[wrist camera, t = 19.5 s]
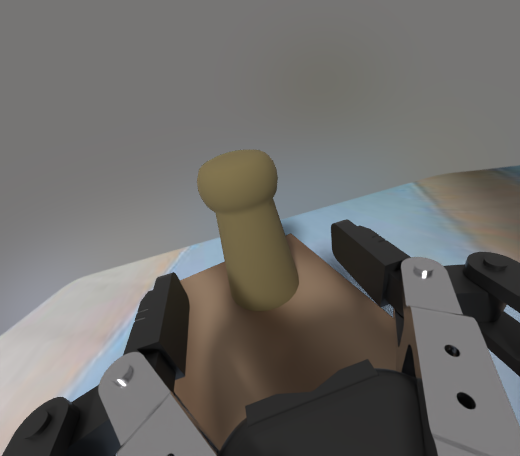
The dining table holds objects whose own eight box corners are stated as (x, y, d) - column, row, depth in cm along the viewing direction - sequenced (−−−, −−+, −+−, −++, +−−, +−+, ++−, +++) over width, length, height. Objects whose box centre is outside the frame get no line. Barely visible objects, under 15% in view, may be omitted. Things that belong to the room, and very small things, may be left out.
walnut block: (296, 272, 28) (290, 233, 24) (426, 411, 14) (447, 363, 11) (189, 324, 24) (166, 286, 21) (227, 571, 11) (181, 564, 8)
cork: (232, 265, 22) (194, 154, 16) (292, 254, 21) (273, 136, 16) (227, 317, 16) (168, 179, 11) (306, 303, 16) (286, 153, 11)
